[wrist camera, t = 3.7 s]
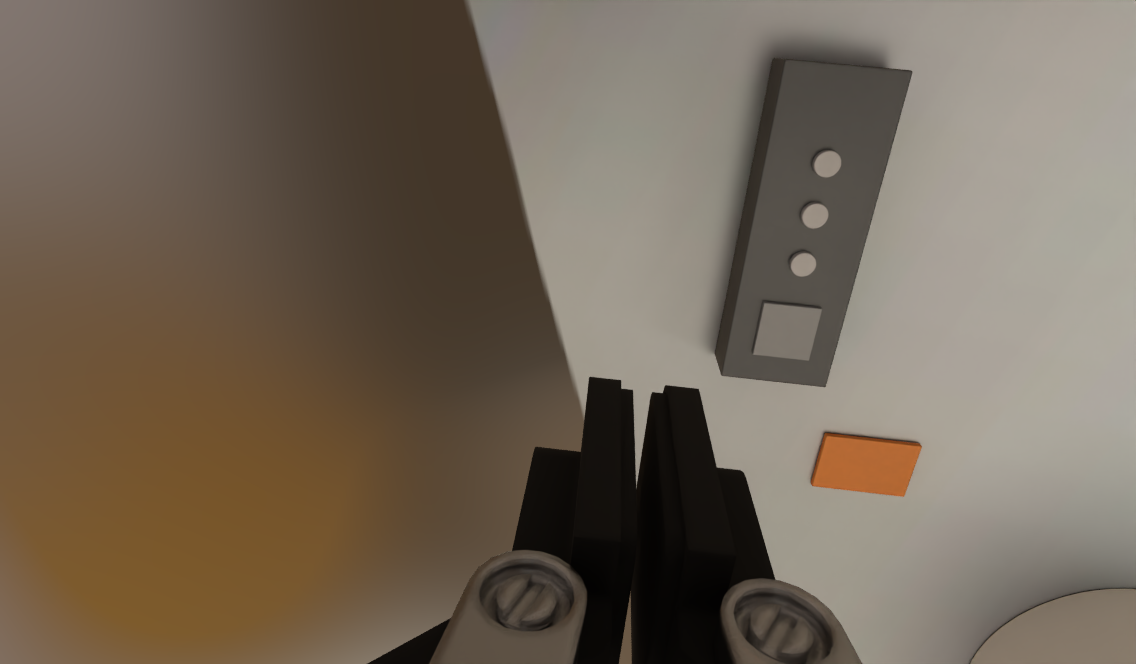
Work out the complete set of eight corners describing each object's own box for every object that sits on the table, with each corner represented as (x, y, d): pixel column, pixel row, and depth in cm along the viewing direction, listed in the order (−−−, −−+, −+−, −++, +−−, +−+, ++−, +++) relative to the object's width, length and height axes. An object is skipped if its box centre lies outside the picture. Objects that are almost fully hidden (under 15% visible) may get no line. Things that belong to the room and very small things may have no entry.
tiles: (983, -127, 23) (987, -129, 23) (1117, -116, 23) (1123, -118, 23) (810, 482, 33) (812, 486, 33) (901, 493, 33) (904, 496, 33)
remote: (772, 57, 26) (786, 58, 24) (890, 68, 26) (916, 70, 23) (714, 354, 31) (722, 379, 29) (812, 365, 31) (827, 391, 29)
